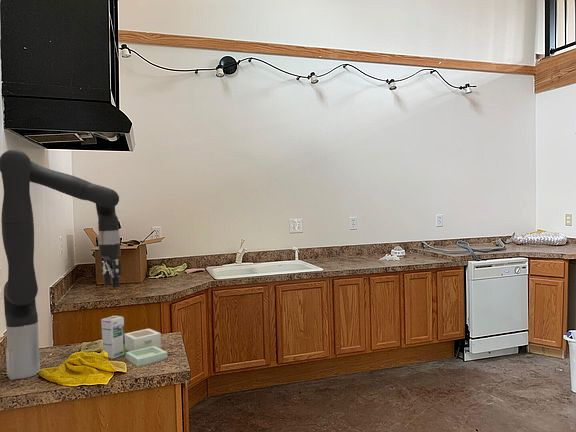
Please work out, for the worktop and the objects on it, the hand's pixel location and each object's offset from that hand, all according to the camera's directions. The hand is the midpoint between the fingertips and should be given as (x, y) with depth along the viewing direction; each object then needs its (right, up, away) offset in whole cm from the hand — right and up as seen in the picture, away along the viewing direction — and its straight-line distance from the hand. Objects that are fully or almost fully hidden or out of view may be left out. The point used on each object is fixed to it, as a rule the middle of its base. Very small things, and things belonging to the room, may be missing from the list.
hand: (111, 285), depth 167 cm
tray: (+15, -26, -5) cm, 30 cm away
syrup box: (+1, -27, 0) cm, 27 cm away
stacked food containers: (+9, -26, +8) cm, 29 cm away
